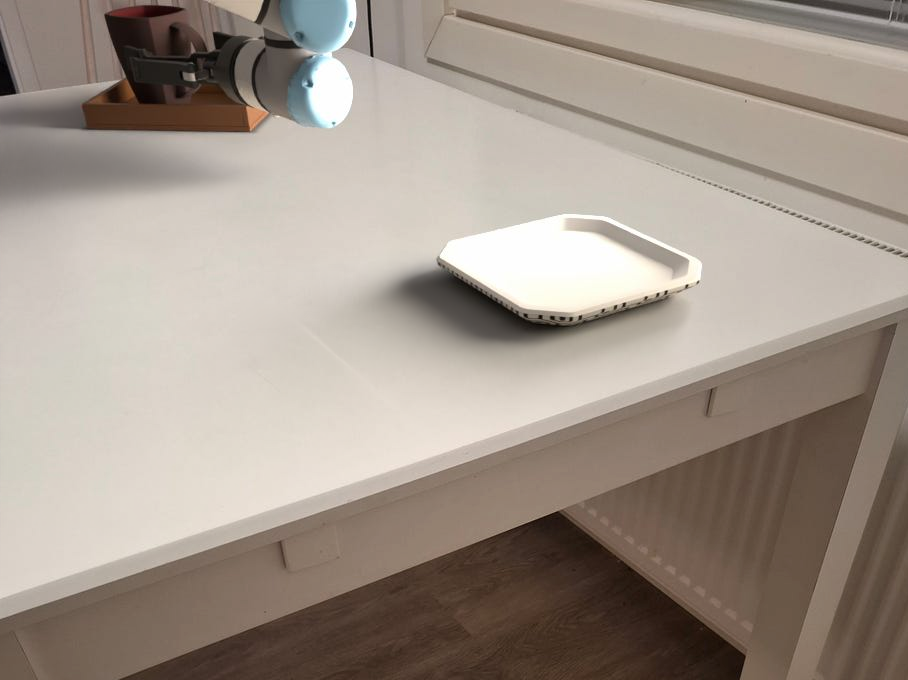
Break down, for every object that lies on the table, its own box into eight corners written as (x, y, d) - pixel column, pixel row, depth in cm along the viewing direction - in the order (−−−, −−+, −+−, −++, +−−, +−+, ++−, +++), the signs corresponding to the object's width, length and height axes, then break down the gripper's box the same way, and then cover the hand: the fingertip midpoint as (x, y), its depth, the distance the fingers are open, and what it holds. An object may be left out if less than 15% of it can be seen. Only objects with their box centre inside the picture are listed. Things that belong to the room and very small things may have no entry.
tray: (87, 128, 128) (81, 104, 126) (138, 95, 142) (133, 72, 140) (250, 131, 126) (246, 106, 124) (285, 97, 141) (281, 74, 138)
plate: (420, 270, 89) (419, 246, 88) (586, 229, 97) (588, 207, 96) (541, 348, 76) (542, 323, 75) (721, 294, 84) (725, 270, 83)
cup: (162, 98, 138) (141, 3, 130) (236, 107, 134) (219, 10, 126) (117, 113, 132) (92, 14, 124) (193, 123, 127) (173, 22, 119)
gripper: (176, 127, 110) (96, 96, 121) (341, 92, 122) (255, 67, 133) (160, 54, 104) (79, 30, 116) (335, 25, 117) (246, 6, 128)
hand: (173, 50), depth 125 cm, fingers open, 13 cm apart
